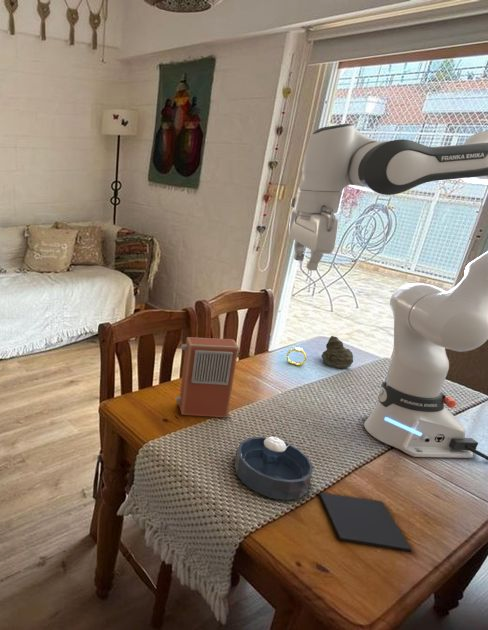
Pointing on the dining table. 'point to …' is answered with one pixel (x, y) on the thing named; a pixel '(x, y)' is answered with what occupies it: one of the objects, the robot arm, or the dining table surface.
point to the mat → (363, 522)
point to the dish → (290, 474)
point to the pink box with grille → (207, 376)
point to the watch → (297, 351)
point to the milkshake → (272, 456)
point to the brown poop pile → (337, 354)
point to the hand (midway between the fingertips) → (304, 264)
